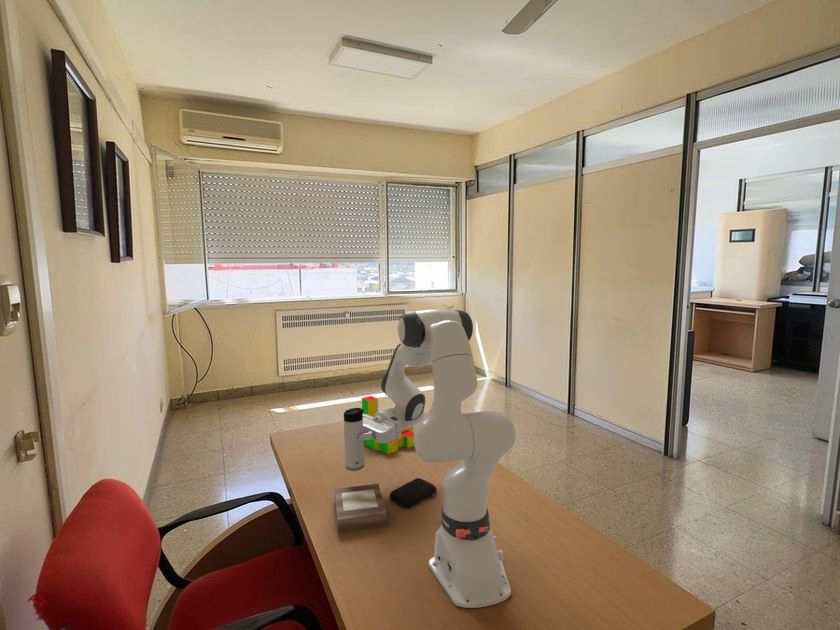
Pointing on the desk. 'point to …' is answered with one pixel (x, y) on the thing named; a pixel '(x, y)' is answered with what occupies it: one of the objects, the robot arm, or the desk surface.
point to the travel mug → (353, 439)
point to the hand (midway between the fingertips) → (351, 434)
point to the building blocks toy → (406, 440)
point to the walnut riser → (359, 508)
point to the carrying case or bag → (413, 492)
